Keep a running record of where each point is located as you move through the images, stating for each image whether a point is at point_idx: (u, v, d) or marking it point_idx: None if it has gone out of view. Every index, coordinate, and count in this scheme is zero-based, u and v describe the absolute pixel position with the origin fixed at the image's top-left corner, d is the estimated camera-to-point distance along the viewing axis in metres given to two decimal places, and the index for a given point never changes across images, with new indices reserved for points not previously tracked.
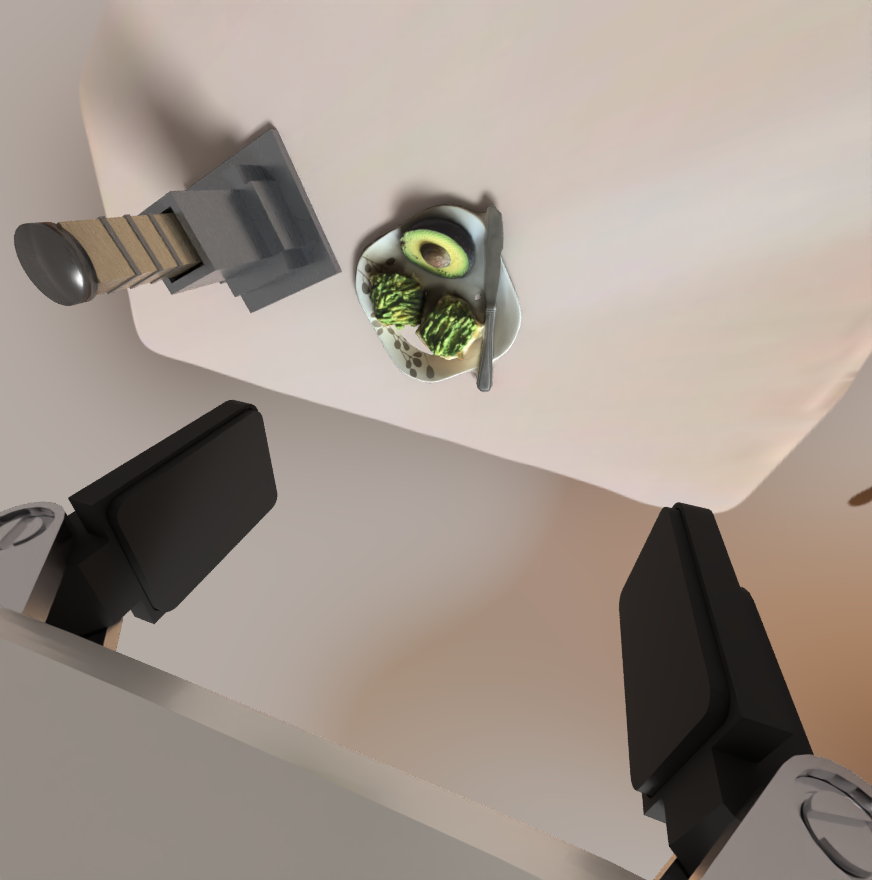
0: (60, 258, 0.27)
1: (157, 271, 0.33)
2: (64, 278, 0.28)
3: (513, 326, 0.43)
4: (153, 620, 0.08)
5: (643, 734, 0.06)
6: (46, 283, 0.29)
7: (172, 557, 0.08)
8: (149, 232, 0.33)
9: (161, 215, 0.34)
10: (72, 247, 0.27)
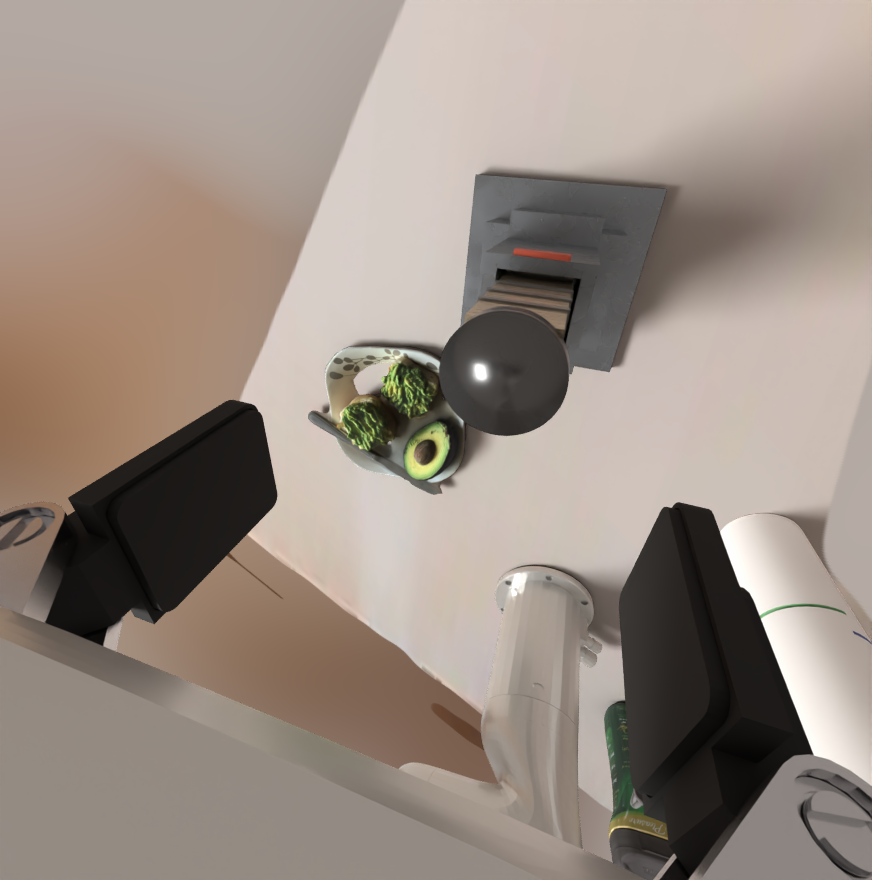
0: (493, 415, 0.18)
1: None
2: (472, 390, 0.17)
3: (357, 461, 0.51)
4: (153, 620, 0.08)
5: (642, 733, 0.07)
6: (488, 345, 0.16)
7: (172, 557, 0.08)
8: None
9: None
10: None
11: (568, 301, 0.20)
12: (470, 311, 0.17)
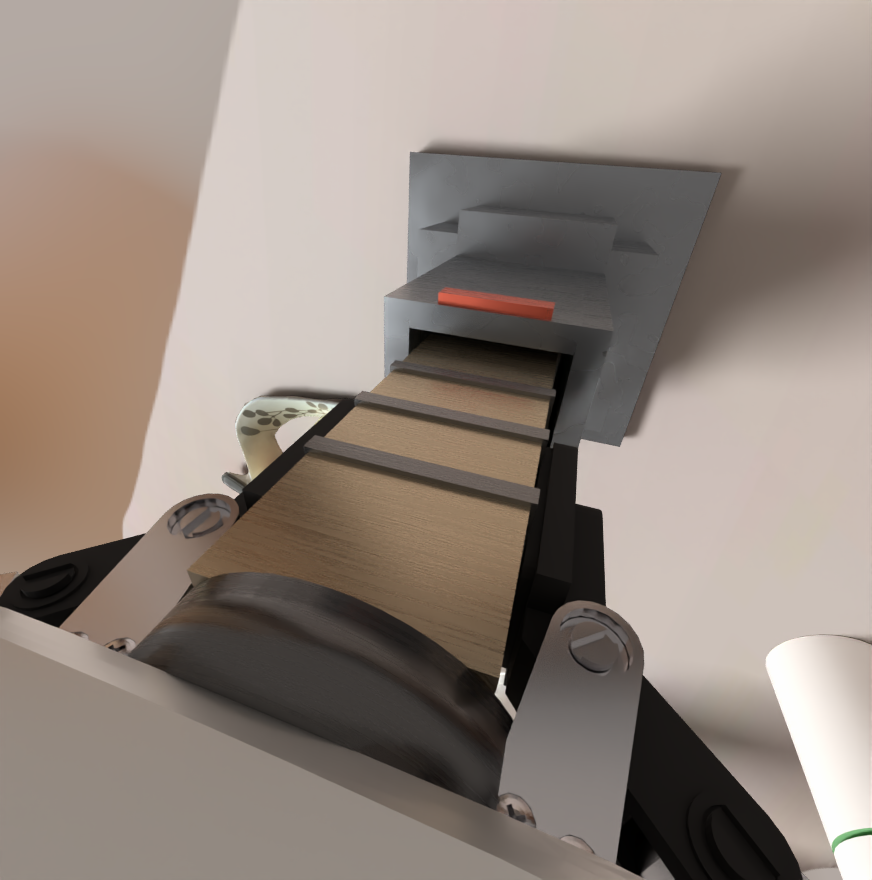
0: None
1: None
2: None
3: None
4: None
5: None
6: None
7: None
8: None
9: None
10: None
11: (539, 441, 0.08)
12: (224, 541, 0.06)
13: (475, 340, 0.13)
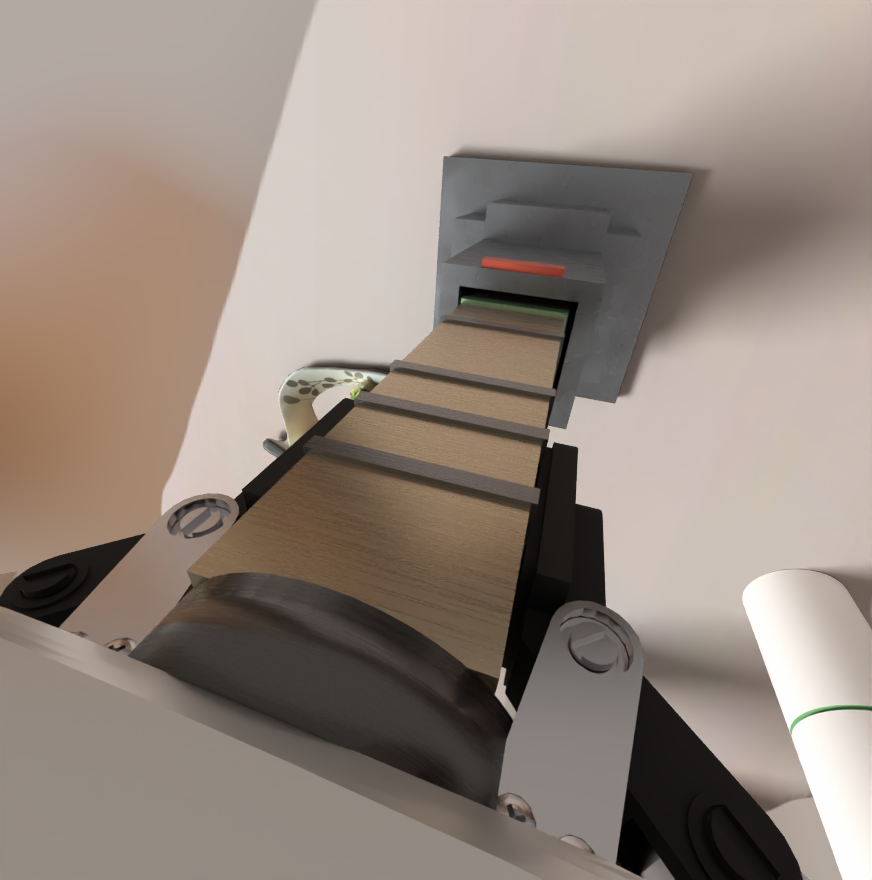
0: None
1: None
2: None
3: None
4: None
5: None
6: None
7: None
8: None
9: None
10: None
11: (539, 441, 0.08)
12: (224, 541, 0.06)
13: (475, 339, 0.13)
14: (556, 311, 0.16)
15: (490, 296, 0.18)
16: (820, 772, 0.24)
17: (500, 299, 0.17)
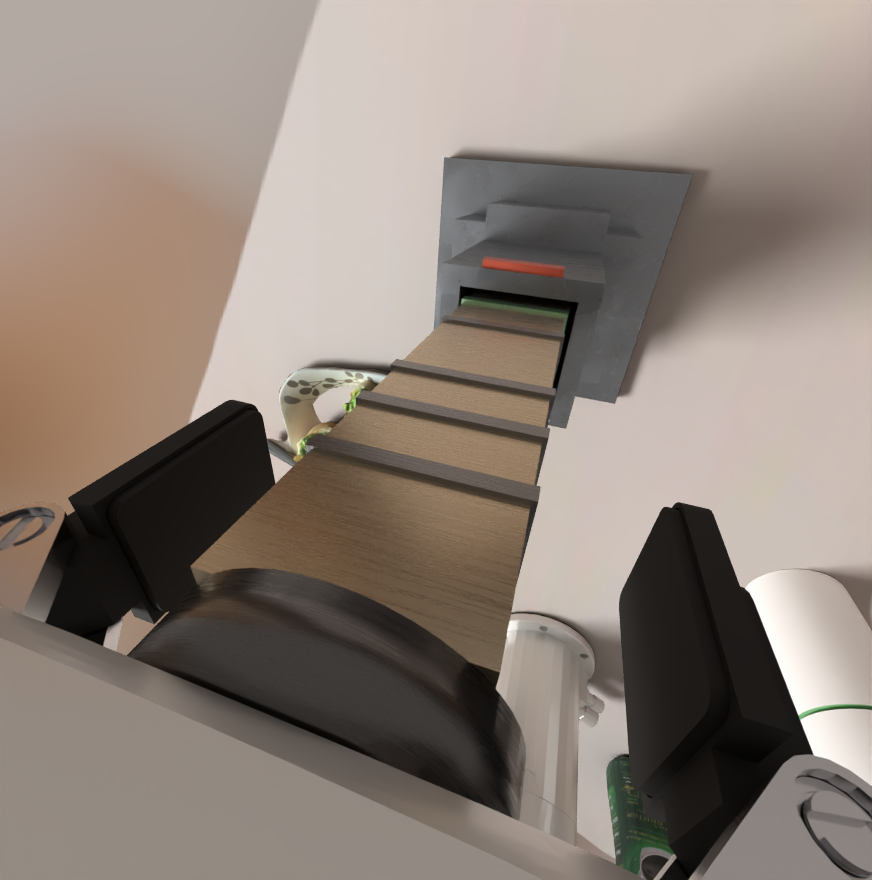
0: None
1: None
2: None
3: None
4: (153, 619, 0.08)
5: (643, 733, 0.06)
6: None
7: (172, 557, 0.08)
8: None
9: None
10: None
11: (540, 440, 0.08)
12: (227, 537, 0.06)
13: (475, 339, 0.13)
14: (556, 311, 0.16)
15: (490, 296, 0.18)
16: None
17: (500, 299, 0.17)
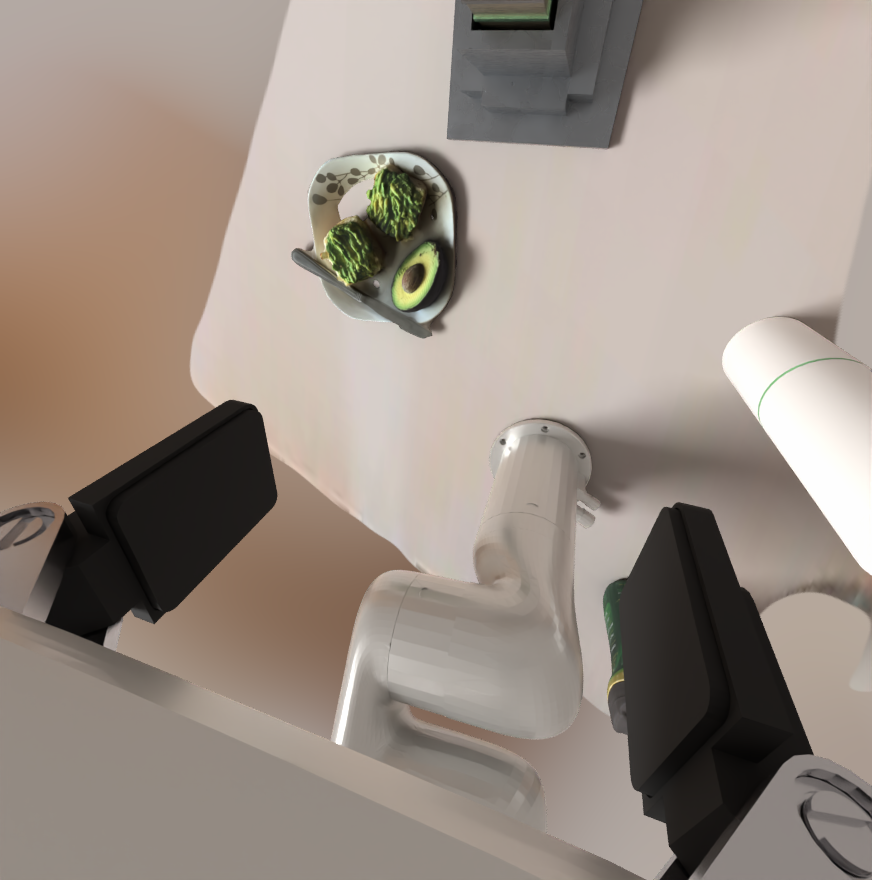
0: None
1: None
2: None
3: (343, 307, 0.49)
4: (153, 620, 0.08)
5: (643, 734, 0.06)
6: None
7: (172, 557, 0.08)
8: None
9: None
10: None
11: None
12: None
13: None
14: None
15: None
16: (779, 410, 0.29)
17: None
